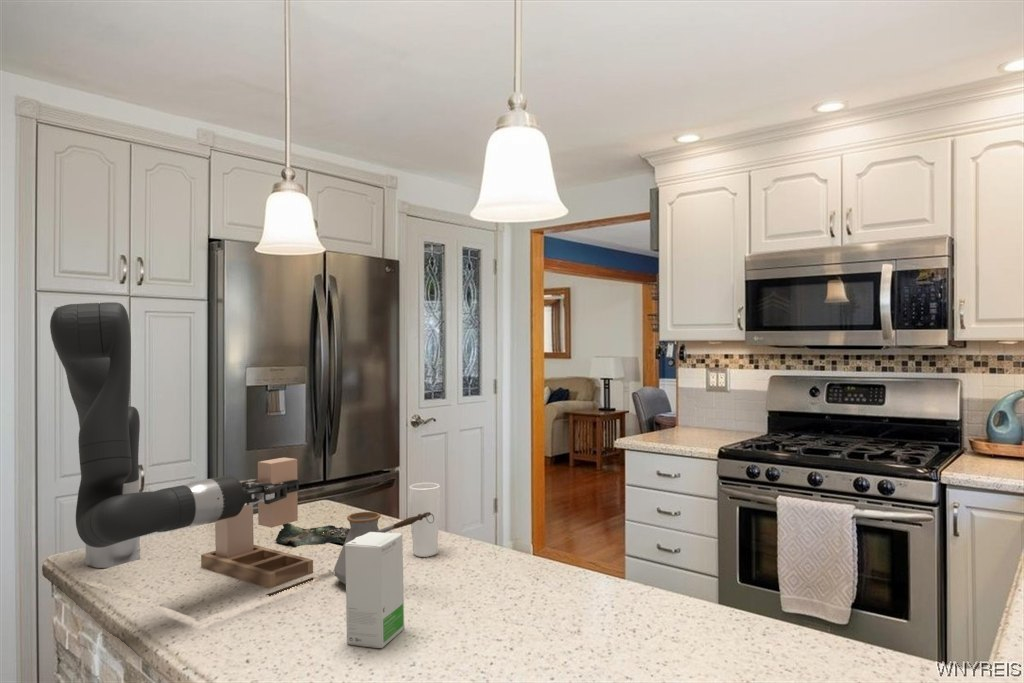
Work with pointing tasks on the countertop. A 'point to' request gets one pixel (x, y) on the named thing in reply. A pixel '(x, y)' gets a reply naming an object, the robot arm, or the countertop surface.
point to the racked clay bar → (235, 534)
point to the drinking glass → (423, 532)
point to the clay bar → (283, 508)
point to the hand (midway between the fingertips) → (289, 483)
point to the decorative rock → (311, 535)
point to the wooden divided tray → (261, 567)
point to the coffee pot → (366, 524)
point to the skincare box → (374, 589)
